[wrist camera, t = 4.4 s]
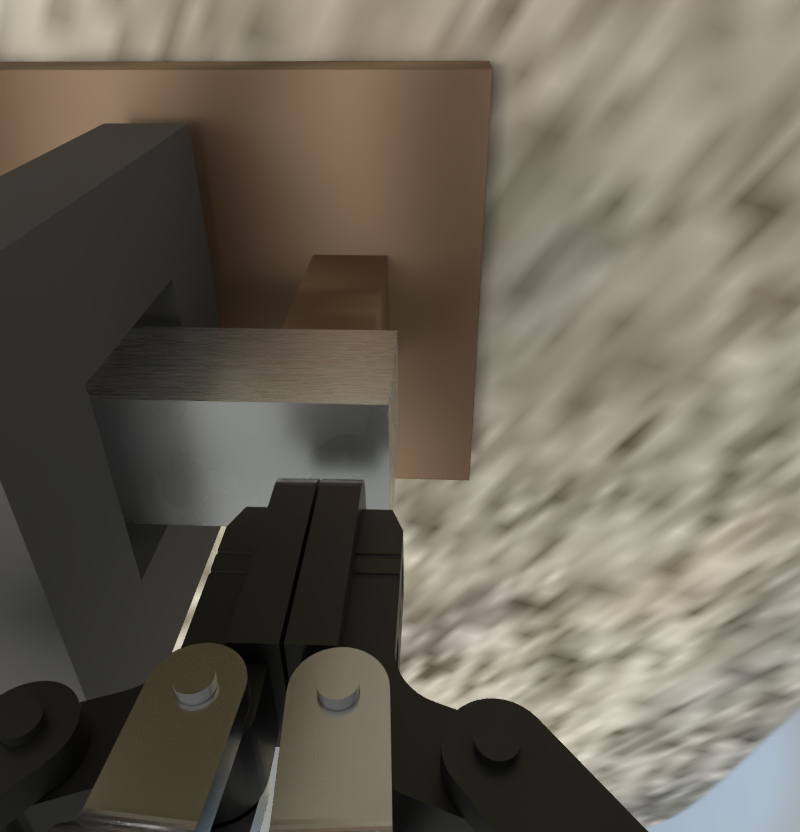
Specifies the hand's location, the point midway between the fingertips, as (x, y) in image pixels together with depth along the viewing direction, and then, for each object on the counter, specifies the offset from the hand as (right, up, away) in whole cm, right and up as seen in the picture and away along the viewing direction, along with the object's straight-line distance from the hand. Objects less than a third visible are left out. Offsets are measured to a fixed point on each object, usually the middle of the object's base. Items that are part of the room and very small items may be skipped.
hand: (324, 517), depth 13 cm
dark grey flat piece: (-5, +4, +7) cm, 9 cm away
